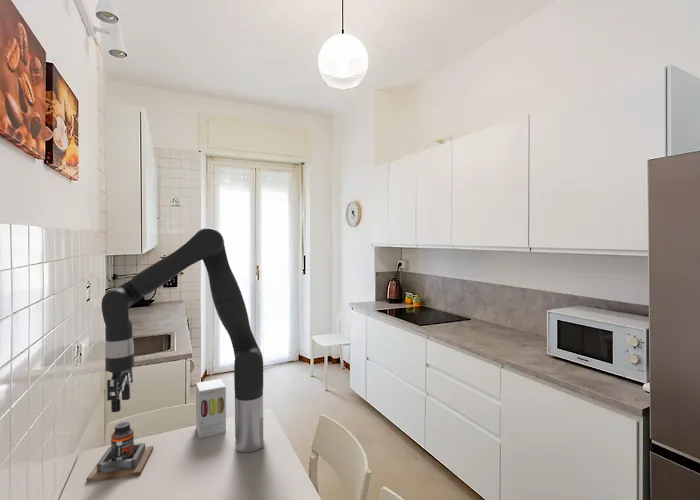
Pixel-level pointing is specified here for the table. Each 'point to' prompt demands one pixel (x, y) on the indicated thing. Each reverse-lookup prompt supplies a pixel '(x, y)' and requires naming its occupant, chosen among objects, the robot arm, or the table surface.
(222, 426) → the supplement box
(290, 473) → the table surface
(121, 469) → the collar holder
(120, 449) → the supplement bottle
